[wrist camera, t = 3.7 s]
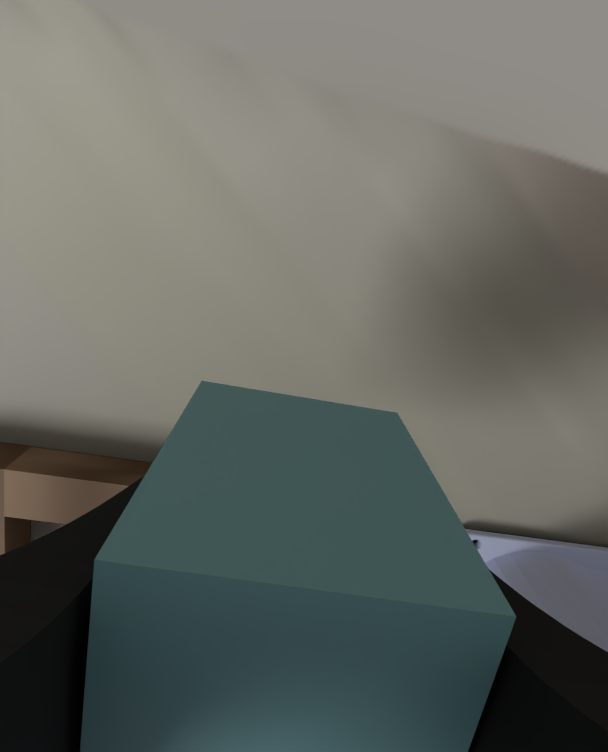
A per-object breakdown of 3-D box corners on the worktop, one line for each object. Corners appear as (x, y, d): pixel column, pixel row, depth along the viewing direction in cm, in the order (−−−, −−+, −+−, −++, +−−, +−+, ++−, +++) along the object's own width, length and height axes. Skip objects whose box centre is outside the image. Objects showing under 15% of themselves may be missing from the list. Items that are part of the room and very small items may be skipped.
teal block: (397, 412, 13) (516, 616, 6) (356, 576, 14) (416, 893, 7) (201, 380, 12) (93, 559, 6) (179, 552, 14) (71, 862, 7)
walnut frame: (274, 479, 21) (272, 504, 19) (219, 813, 26) (214, 858, 25) (-45, 436, 20) (-81, 458, 18) (-33, 791, 26) (-59, 836, 24)
